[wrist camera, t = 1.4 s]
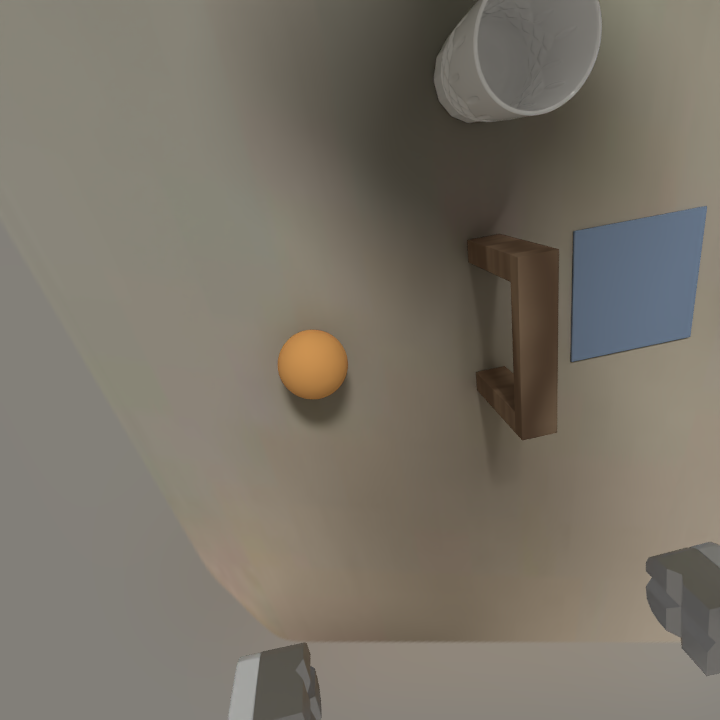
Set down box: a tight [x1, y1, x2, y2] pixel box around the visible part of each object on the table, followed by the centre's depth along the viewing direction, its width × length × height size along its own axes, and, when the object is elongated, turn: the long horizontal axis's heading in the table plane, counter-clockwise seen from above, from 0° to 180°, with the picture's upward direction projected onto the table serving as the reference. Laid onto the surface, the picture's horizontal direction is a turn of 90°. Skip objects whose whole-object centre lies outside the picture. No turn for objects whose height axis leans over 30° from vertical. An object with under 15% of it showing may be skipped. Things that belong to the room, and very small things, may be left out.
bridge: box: [467, 234, 559, 440], centre depth 39 cm, size 3×15×10 cm, turn 9°
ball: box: [278, 330, 348, 399], centre depth 39 cm, size 6×6×6 cm
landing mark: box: [571, 206, 707, 362], centre depth 44 cm, size 13×13×1 cm
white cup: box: [434, 0, 602, 123], centre depth 31 cm, size 8×8×10 cm
